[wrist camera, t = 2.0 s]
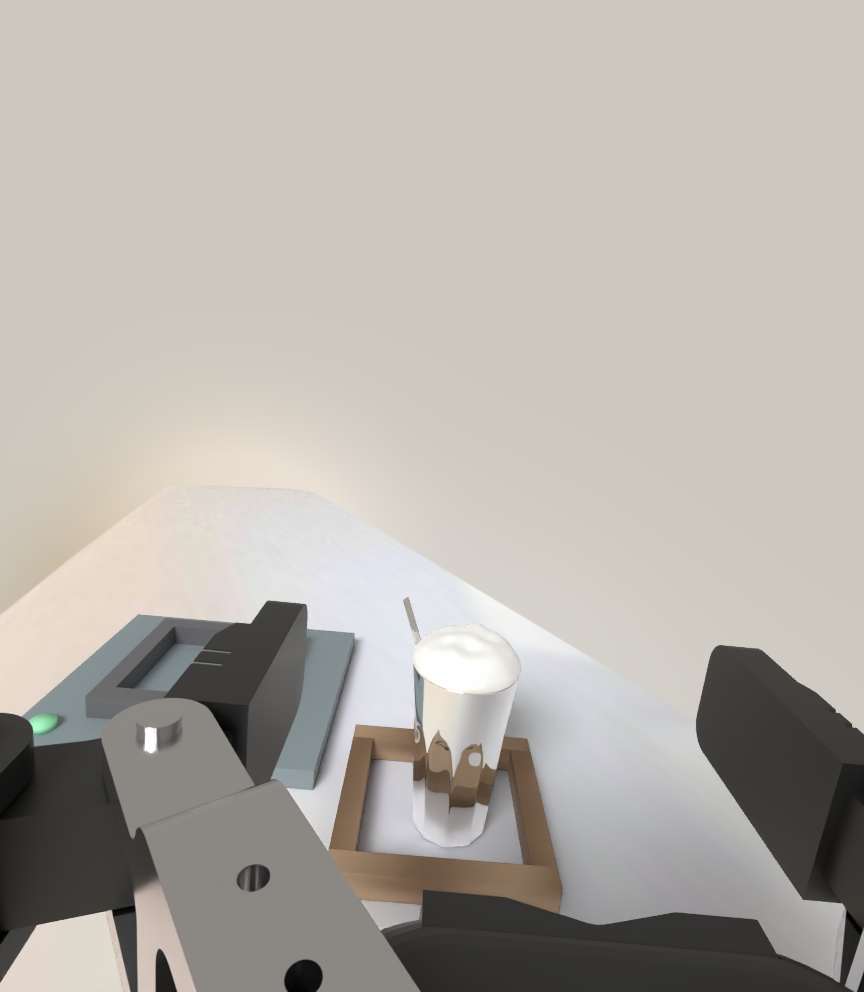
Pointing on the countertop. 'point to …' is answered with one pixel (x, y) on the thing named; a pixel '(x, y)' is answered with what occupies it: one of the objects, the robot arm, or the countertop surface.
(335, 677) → the port plate
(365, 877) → the square wooden frame
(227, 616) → the countertop surface
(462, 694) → the milkshake
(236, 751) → the robot arm
